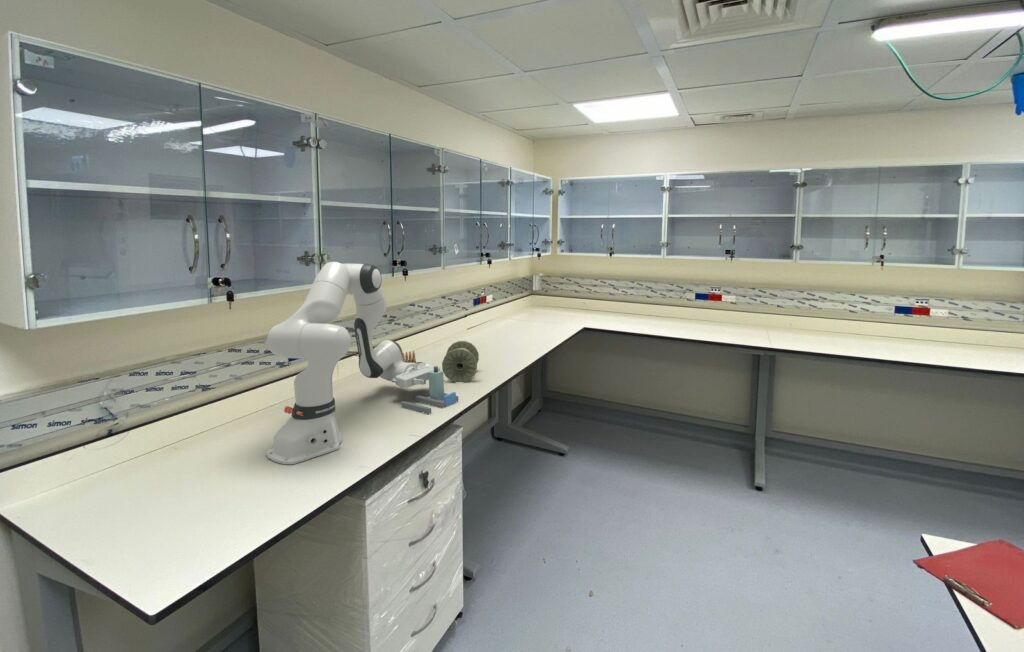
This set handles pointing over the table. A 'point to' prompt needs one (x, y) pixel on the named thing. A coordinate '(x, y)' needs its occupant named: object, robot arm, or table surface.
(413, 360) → the ammunition clip
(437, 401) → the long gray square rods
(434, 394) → the capped teal pillar
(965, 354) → the table surface
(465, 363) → the spool
